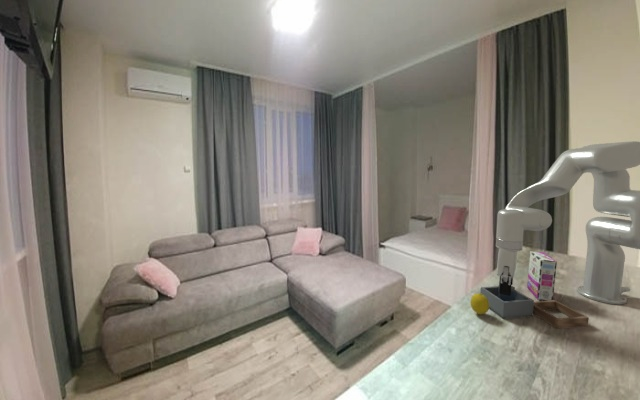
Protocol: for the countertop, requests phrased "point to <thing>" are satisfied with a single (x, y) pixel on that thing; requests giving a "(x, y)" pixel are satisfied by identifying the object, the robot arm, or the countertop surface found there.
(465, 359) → the countertop surface
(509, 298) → the vaping device
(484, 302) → the lemon
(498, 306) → the bin
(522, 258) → the countertop surface
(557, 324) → the brown wooden square frame
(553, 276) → the candy bar box
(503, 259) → the robot arm
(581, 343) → the countertop surface
